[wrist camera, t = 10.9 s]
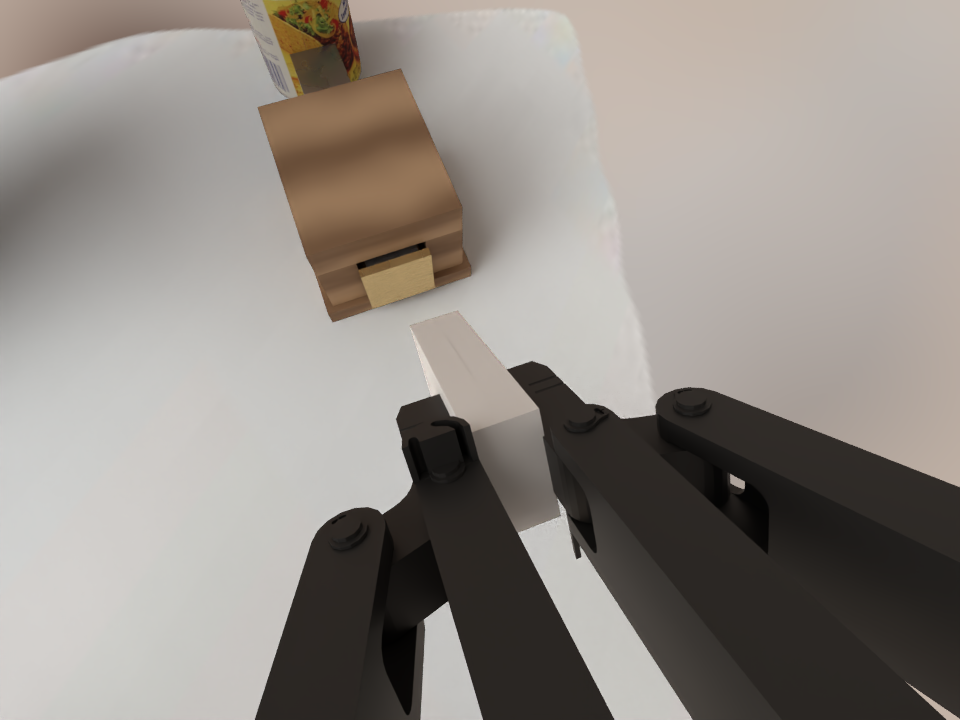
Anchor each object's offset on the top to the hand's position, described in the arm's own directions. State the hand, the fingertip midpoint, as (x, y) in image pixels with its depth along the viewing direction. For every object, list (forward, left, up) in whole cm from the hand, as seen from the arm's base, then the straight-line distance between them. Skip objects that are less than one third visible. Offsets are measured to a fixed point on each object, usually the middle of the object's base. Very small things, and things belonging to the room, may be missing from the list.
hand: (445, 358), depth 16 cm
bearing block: (-13, +14, -22) cm, 29 cm away
